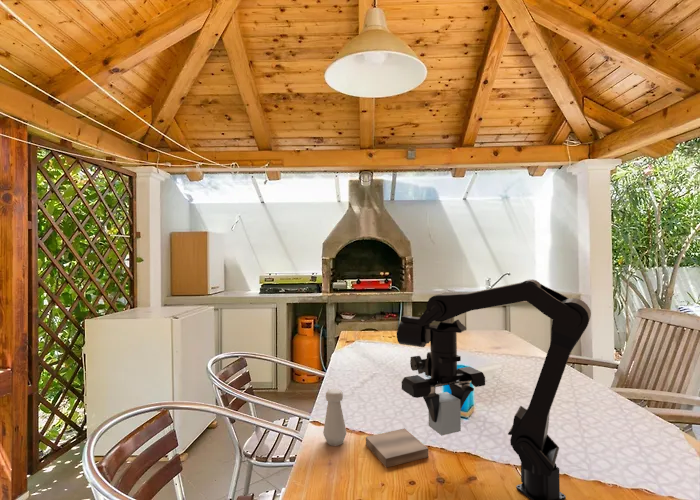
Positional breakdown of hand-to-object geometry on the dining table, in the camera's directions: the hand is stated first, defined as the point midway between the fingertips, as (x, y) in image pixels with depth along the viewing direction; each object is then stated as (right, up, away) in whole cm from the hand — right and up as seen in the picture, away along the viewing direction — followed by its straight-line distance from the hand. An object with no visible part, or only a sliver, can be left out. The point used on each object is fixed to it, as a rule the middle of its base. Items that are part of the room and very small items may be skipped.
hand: (444, 419), depth 90 cm
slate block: (0, -2, 0) cm, 2 cm away
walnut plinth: (-10, -10, +7) cm, 16 cm away
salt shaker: (-25, -11, +12) cm, 29 cm away
